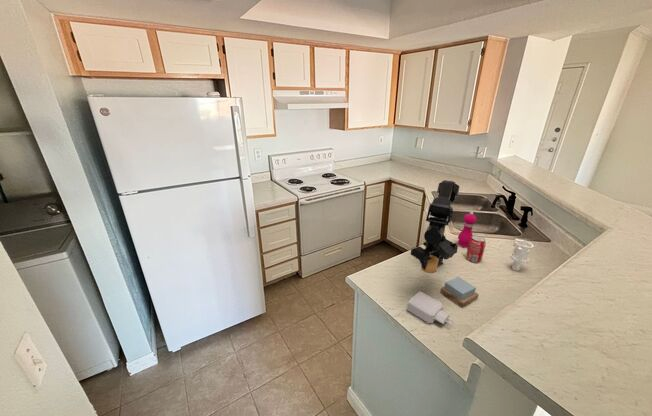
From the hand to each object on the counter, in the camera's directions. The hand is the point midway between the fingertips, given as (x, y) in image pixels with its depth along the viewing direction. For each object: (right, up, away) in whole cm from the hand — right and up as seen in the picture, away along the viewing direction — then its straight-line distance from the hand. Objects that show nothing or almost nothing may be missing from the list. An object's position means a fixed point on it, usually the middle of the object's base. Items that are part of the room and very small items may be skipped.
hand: (429, 266), depth 108 cm
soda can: (+32, -2, +25) cm, 41 cm away
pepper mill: (+34, +3, +38) cm, 51 cm away
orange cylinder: (0, -1, 0) cm, 1 cm away
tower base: (+12, -12, 0) cm, 17 cm away
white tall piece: (+48, -5, +18) cm, 52 cm away
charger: (-3, -16, -10) cm, 19 cm away
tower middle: (+12, -10, -1) cm, 15 cm away
